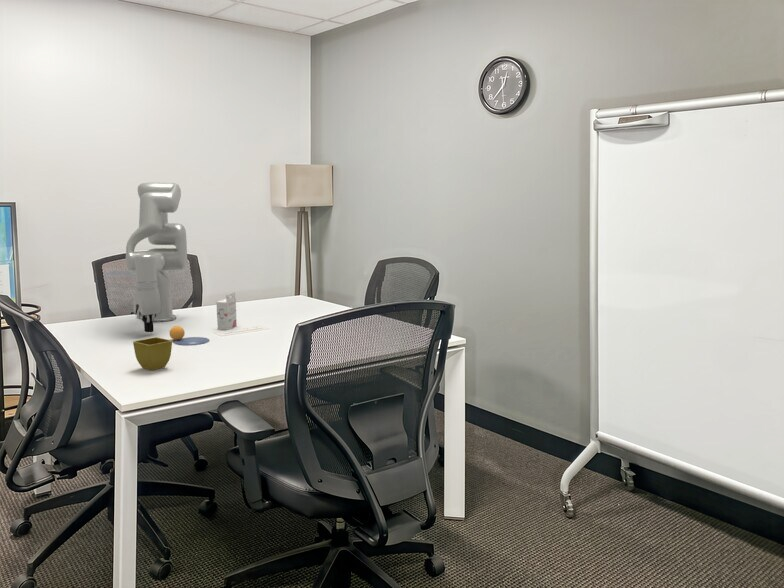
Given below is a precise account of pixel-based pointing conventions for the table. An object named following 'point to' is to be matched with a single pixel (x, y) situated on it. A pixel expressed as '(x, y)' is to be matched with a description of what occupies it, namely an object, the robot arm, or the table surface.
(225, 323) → the ink cartridge box
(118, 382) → the table surface
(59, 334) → the table surface
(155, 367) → the flower pot
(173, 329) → the ball
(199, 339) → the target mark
